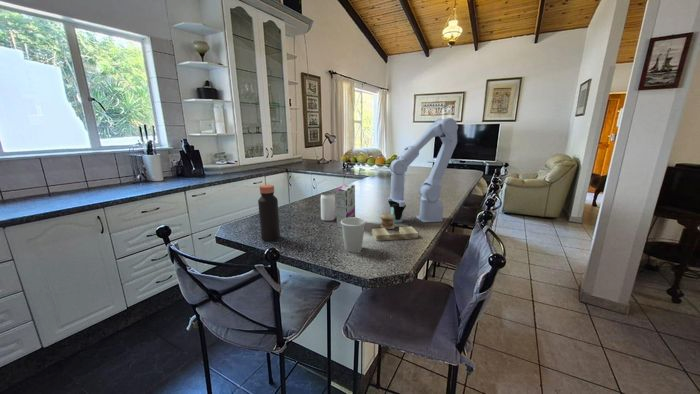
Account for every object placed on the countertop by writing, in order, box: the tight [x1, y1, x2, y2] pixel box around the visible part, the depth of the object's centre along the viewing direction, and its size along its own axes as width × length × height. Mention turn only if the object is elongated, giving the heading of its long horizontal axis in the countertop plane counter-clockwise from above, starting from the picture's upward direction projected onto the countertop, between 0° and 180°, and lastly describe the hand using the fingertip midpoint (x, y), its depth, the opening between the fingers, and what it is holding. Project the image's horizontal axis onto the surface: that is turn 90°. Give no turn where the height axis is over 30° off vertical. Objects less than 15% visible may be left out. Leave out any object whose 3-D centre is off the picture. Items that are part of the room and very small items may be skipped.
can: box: [320, 191, 336, 222], centre depth 123 cm, size 6×6×12 cm
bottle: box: [257, 184, 281, 242], centre depth 100 cm, size 7×7×20 cm
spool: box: [379, 213, 396, 231], centre depth 113 cm, size 6×6×5 cm
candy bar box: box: [335, 183, 356, 229], centre depth 116 cm, size 11×5×16 cm, turn 161°
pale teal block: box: [390, 207, 403, 224], centre depth 121 cm, size 4×4×6 cm
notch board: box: [371, 226, 419, 241], centre depth 105 cm, size 16×7×2 cm, turn 99°
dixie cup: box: [341, 216, 367, 253], centre depth 92 cm, size 8×8×10 cm
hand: (396, 217), depth 121 cm, fingers closed on pale teal block, 4 cm apart
